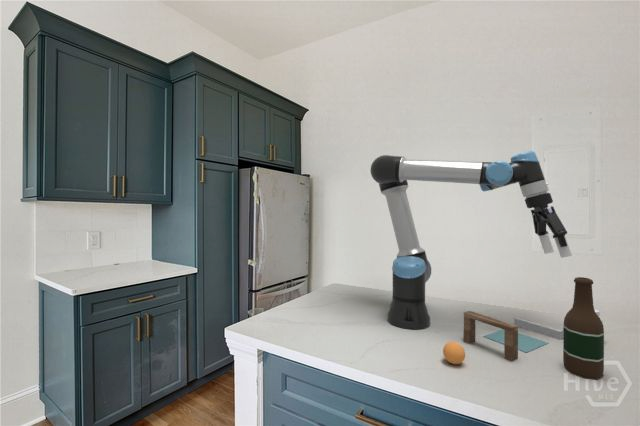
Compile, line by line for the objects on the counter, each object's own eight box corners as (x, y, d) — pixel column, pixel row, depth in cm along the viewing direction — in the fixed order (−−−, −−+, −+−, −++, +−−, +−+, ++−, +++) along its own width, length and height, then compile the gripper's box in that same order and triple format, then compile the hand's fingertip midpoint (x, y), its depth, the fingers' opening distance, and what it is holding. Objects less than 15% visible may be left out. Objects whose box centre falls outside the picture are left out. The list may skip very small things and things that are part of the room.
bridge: (511, 361, 82) (512, 327, 82) (463, 341, 94) (463, 312, 94) (517, 358, 83) (518, 325, 83) (469, 339, 96) (469, 310, 96)
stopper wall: (514, 325, 108) (514, 318, 108) (517, 324, 109) (517, 317, 109) (560, 339, 96) (560, 331, 96) (563, 338, 97) (563, 330, 97)
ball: (438, 360, 82) (438, 340, 82) (451, 356, 85) (451, 336, 85) (456, 370, 77) (456, 348, 77) (469, 364, 80) (469, 344, 80)
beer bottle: (555, 364, 80) (556, 275, 80) (582, 363, 81) (582, 274, 81) (583, 381, 72) (584, 282, 72) (612, 379, 73) (613, 281, 73)
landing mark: (483, 336, 98) (483, 336, 98) (505, 329, 104) (505, 328, 104) (526, 352, 87) (526, 352, 87) (548, 343, 93) (548, 342, 93)
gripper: (564, 187, 91) (589, 255, 89) (536, 195, 115) (554, 249, 112) (537, 194, 94) (560, 261, 91) (514, 200, 117) (532, 253, 115)
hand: (557, 254), depth 102 cm, fingers open, 13 cm apart
